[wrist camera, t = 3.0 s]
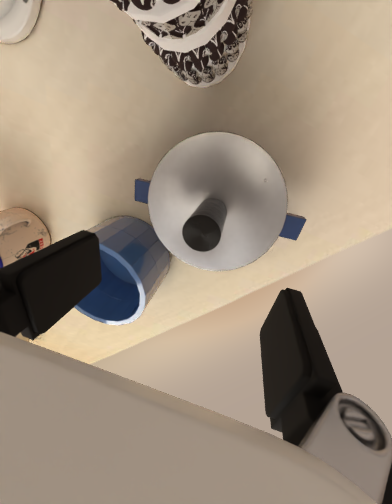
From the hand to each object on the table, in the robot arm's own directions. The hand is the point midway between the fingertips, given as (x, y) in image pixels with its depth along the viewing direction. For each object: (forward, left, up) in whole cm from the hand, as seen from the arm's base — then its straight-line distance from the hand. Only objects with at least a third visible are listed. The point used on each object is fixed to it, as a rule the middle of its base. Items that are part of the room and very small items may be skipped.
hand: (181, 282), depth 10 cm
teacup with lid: (+12, -31, -18) cm, 38 cm away
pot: (+12, -12, -18) cm, 25 cm away
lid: (0, 0, -12) cm, 12 cm away
